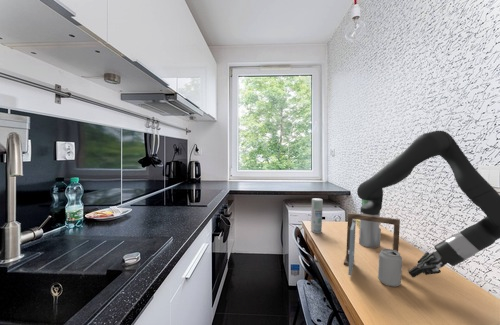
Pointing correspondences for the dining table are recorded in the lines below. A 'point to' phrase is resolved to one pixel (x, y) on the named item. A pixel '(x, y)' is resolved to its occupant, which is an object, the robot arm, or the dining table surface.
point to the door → (351, 247)
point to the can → (390, 267)
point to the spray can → (316, 215)
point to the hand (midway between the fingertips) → (410, 274)
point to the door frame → (374, 219)
